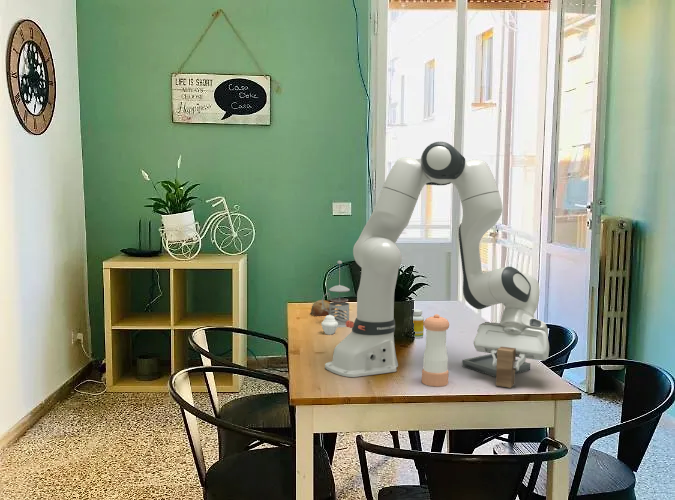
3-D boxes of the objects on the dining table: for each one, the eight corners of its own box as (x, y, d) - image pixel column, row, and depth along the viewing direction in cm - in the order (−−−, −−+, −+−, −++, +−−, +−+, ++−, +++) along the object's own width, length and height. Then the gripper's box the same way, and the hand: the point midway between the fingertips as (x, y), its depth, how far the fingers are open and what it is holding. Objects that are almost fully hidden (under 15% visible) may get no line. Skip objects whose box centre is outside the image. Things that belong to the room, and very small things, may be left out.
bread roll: (312, 321, 277) (304, 304, 275) (333, 309, 279) (325, 293, 277) (318, 326, 267) (310, 309, 265) (340, 314, 270) (332, 297, 268)
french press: (349, 327, 248) (350, 262, 245) (319, 326, 250) (320, 261, 247) (353, 322, 257) (354, 259, 255) (324, 321, 259) (324, 258, 257)
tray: (498, 377, 186) (498, 371, 186) (462, 366, 197) (462, 359, 197) (530, 370, 194) (530, 363, 194) (493, 359, 205) (493, 353, 205)
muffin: (318, 334, 236) (318, 315, 236) (324, 331, 242) (324, 312, 241) (335, 336, 234) (335, 316, 234) (340, 332, 240) (340, 313, 239)
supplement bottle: (405, 336, 234) (405, 310, 233) (414, 334, 238) (414, 308, 237) (417, 339, 231) (418, 312, 230) (426, 336, 235) (427, 310, 234)
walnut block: (510, 387, 176) (512, 351, 175) (495, 385, 178) (497, 349, 177) (514, 384, 180) (515, 348, 178) (500, 381, 181) (501, 346, 180)
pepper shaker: (453, 382, 182) (455, 314, 179) (438, 388, 176) (440, 318, 174) (431, 377, 186) (432, 310, 184) (416, 382, 181) (418, 314, 179)
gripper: (478, 315, 188) (465, 356, 181) (551, 323, 178) (541, 367, 171) (482, 327, 192) (470, 368, 185) (553, 336, 182) (544, 379, 175)
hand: (505, 367), depth 178 cm, fingers closed on walnut block, 4 cm apart
